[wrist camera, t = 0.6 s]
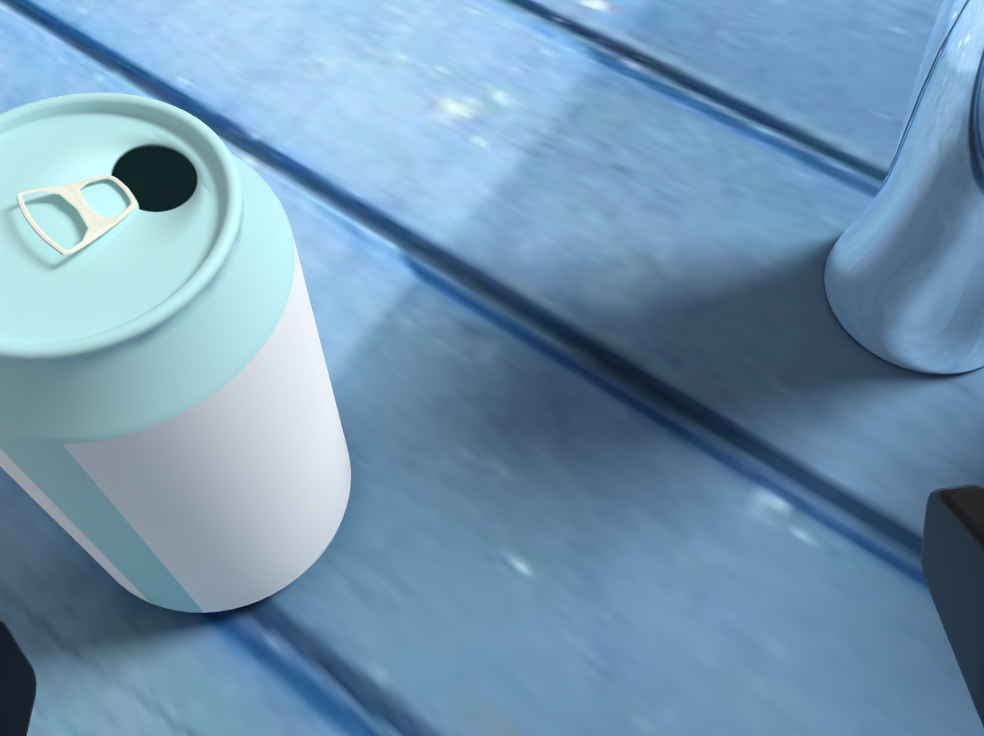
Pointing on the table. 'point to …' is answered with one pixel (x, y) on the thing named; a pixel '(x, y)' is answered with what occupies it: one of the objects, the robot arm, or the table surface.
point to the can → (161, 354)
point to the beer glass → (925, 218)
